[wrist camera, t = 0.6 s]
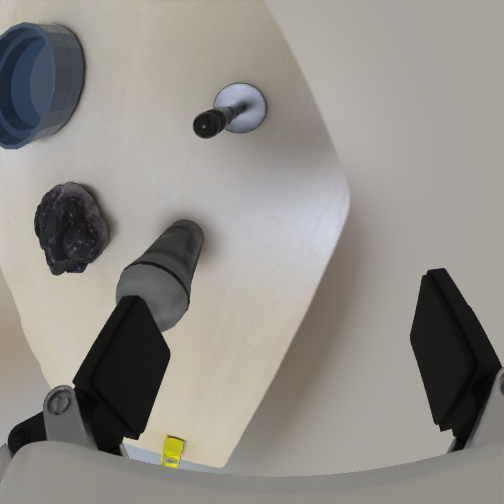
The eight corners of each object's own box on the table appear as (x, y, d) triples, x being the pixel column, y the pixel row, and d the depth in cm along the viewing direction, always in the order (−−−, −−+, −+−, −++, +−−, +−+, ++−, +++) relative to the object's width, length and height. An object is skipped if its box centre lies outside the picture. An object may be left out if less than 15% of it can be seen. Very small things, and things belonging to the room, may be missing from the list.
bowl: (42, 7, 22) (12, 5, 16) (108, 60, 26) (78, 60, 21) (-5, 100, 28) (-32, 108, 23) (49, 159, 33) (21, 174, 28)
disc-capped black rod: (241, 73, 27) (202, 63, 14) (277, 107, 29) (270, 127, 15) (207, 107, 29) (142, 130, 16) (241, 140, 31) (205, 189, 17)
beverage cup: (200, 269, 40) (150, 398, 23) (152, 244, 39) (75, 360, 22) (224, 226, 36) (173, 360, 19) (170, 198, 35) (80, 310, 18)
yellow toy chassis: (166, 433, 72) (158, 458, 64) (185, 439, 72) (179, 464, 65) (165, 449, 80) (159, 470, 73) (181, 454, 80) (176, 475, 73)
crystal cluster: (46, 240, 41) (14, 280, 34) (42, 166, 33) (-2, 202, 26) (113, 266, 44) (88, 313, 36) (121, 191, 36) (84, 236, 28)
